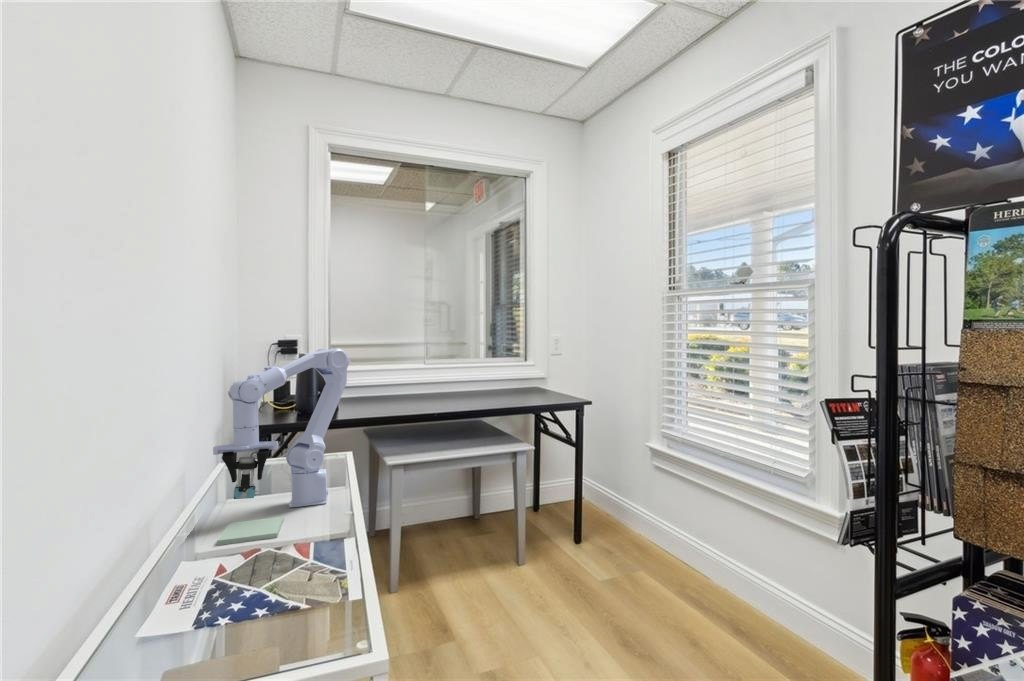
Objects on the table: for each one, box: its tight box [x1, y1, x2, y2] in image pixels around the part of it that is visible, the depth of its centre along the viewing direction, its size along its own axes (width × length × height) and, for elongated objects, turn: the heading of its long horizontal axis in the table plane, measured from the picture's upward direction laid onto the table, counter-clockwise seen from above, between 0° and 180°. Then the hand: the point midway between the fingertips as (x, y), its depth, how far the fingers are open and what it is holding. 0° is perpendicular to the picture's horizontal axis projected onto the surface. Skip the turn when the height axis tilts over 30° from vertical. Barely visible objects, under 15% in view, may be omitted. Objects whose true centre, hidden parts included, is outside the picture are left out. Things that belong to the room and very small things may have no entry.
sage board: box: [216, 516, 285, 546], centre depth 116 cm, size 12×12×1 cm
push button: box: [233, 456, 263, 500], centre depth 125 cm, size 7×5×10 cm
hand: (247, 480), depth 125 cm, fingers closed on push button, 5 cm apart
